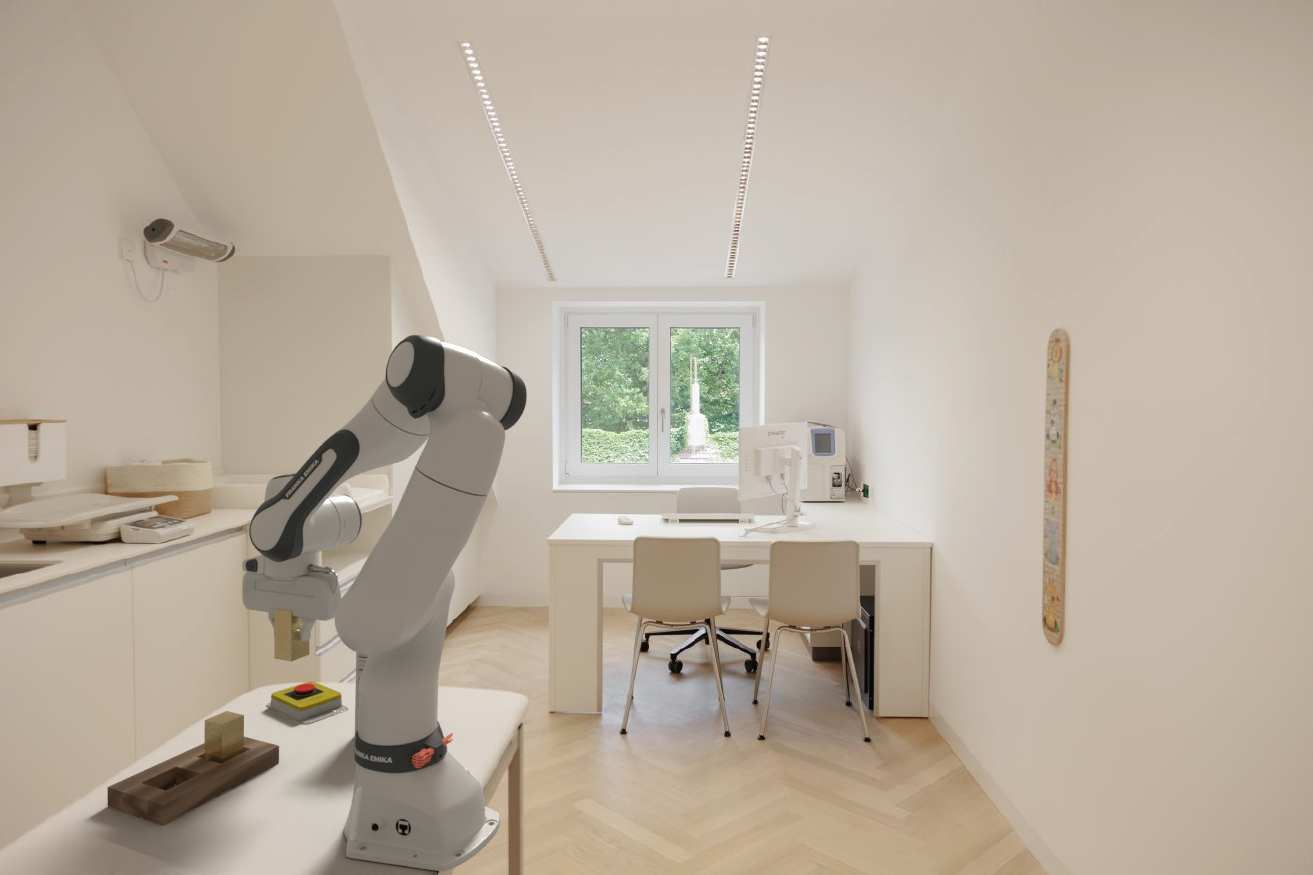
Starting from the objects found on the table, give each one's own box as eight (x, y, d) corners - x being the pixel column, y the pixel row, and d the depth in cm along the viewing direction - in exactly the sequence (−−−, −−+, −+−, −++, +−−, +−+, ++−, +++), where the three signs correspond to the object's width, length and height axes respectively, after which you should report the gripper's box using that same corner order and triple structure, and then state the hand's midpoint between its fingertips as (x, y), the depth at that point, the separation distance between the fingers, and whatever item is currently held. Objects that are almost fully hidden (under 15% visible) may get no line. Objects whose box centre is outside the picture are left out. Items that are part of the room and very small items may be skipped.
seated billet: (243, 767, 121) (244, 715, 121) (221, 778, 118) (222, 724, 117) (226, 762, 123) (226, 710, 122) (204, 773, 119) (204, 720, 119)
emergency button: (308, 672, 153) (350, 690, 145) (308, 693, 154) (350, 711, 145) (264, 686, 146) (306, 705, 137) (264, 707, 146) (306, 727, 138)
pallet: (278, 762, 123) (279, 745, 123) (162, 825, 104) (162, 804, 104) (227, 748, 127) (228, 732, 127) (107, 806, 109) (107, 787, 109)
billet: (309, 654, 132) (309, 605, 131) (291, 661, 128) (291, 611, 128) (292, 651, 133) (292, 603, 133) (274, 658, 129) (274, 608, 129)
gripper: (350, 564, 129) (350, 640, 130) (264, 554, 136) (265, 626, 137) (322, 571, 123) (323, 651, 124) (235, 561, 130) (235, 636, 131)
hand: (292, 638), depth 131 cm, fingers closed on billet, 4 cm apart
